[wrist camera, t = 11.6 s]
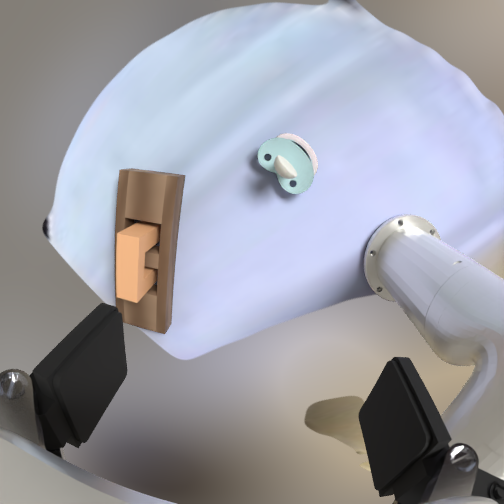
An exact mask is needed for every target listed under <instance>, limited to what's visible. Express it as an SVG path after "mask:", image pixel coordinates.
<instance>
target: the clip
mask: <svg viewBox="0 0 504 504" xmlns="http://www.w3.org/2000/svg"><path fill="white" fill-rule="evenodd" d="M160 234H161V224H158V223H152V222H147V221H139V222H137V223H135V224H134V225H132V226H130V227H128V228H126V229H124V230H122V231H120V232H118V233H117V248H116V292H117V297H118V298H121V299H125V300H128V301H132V302H135V303H138V302H139V301H140V299H141V298H142V297H143V296H144V295H145V294H146V293H147V291H148V290H149V289H150V288H151V287H152V286H153V285H154V283H155V282H156V281H157V272H158V269H155V268H151V267H146V266H145V252H146V251H148V250H149V249H150V248H152V247H153V246H154V245H155V244H157V243H158V242H159V241H160Z"/></svg>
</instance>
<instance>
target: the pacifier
mask: <svg viewBox="0 0 504 504" xmlns="http://www.w3.org/2000/svg"><path fill="white" fill-rule="evenodd" d="M294 142H295V143H297V144H298V145H300V146H301V147H302V148H303V149H304V150H305V151H306V153H307V154H308V156H309V158H308V156H307V155H306V153H305V152H304V151H303V150H302V149H301V148H300V147H299V146H298V145H296V144H295V143H294ZM265 154H270V155H271V160H269V161H266V160H265V159H264V156H265ZM258 160H259V163H260V164H261V165H262V167H264V168H265V169H266V170H268V171H270V172H274V173H276V174H277V177H278V181H279V183H280V185H281V186H282V188H283V189H285V190H286V191H287V192H289V193H292V194H300V193H303V192H305V191H306V190H307V189H308V188H309V187H310V186H311V184H312V182H313V178H314V175H315V173H316V172H317V169H318V161H317V157H316V155H315V153H314V151H313V149H312V148H311V147H310V145H309V144H308V143H307V142H305V141H304V140H303V139H302V138H300V137H298V136H296V135H293V134H288V133H285V134H281V135H279V136H277V137H276V138H272V139H269V140H267V141H266V142H264V143H263V144H262V145H261V147H260V148H259V151H258ZM291 180H295V181H296V186H295V187H291V186H290V184H289V183H290V181H291Z"/></svg>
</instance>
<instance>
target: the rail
mask: <svg viewBox="0 0 504 504" xmlns="http://www.w3.org/2000/svg"><path fill="white" fill-rule="evenodd" d="M184 181H185V175H179V174H172V173H164V172H156V171H148V170H139V169H122V170H120V172H119V182H118V193H117V207H116V225H115V297H116V307H117V308H118V311H119V312H120V313H121V314H122V319H123V322H124V323H128V324H131V325H134V326H137V327H141V328H144V329H148V330H152V331H155V332H159V333H163V334H165V333H166V332H167V330H168V328H169V326H170V325H171V319H172V300H173V285H174V272H175V260H176V249H177V239H178V229H179V220H180V212H181V204H182V196H183V188H184ZM135 219H136V220H141V221H147V222H152V223H158V224H161V234H160V246H156V245H154V246H153V247H152V248H150V249H149V250H148V251H146V252H145V266H146V267H151V268H155V269H158V280H157V285H153V286H152V287H151V288H150V289H149V290H148V291H147V293H146V294H145V295H144V296H143V297H142V298H141V299H140V301H139V302H138V303H135V302H132V301H128V300H125V299H121V298H118V297H117V292H116V248H117V233H118V232H120V231H122V230H124V229H126V228H128V227H130V226H132V225H134V220H135Z"/></svg>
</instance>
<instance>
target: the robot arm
mask: <svg viewBox="0 0 504 504" xmlns="http://www.w3.org/2000/svg"><path fill="white" fill-rule="evenodd" d="M398 221H399V223H398ZM371 251H372V253H370V252H371ZM364 272H365V277H366V279H367V282H368V284H369V285H370V287H371V288H372V290H373V291H374V292H375V293H376V294H377V295H379V296H380V297H381V298H383V299H386V300H388V301H393V302H397V303H398V305H399V306H400V307H401V308H402V310H403V311H404V312H405V314H406V315H407V316H408V318H409V319H410V320H411V322H412V323H413V324H414V326H415V327H416V329H417V330H418V331H419V333H420V334H421V335H422V337H423V338H424V339H425V341H426V342H427V343H428V345H429V346H430V348H431V349H432V350H433V352H434V353H435V354H436V355H437V356H438V357H439V358H440V359H441V360H443V361H445V362H446V363H449V364H452V365H457V366H471V365H475V368H474V370H473V373H472V375H471V376H470V378H469V379H468V381H467V382H466V384H465V385H464V387H463V388H462V390H461V391H460V393H459V394H458V395H457V397H456V398H455V399H454V400H453V402H452V403H451V404H450V405H449V407H448V408H447V409H446V410H445V411H444V413H443V414H442V415H441V416H440V414H439V412H438V410H437V408H436V406H435V404H434V402H433V400H432V398H431V396H430V394H429V392H428V391H427V389H426V387H425V385H424V383H423V381H422V379H421V378H420V376H419V374H418V372H417V370H416V369H415V367H414V365H413V363H412V362H411V360H410V359H409V358H406V357H405V358H404V357H394V358H393V359H392V360H391V361H388V362H387V364H386V366H385V367H384V369H383V371H382V373H381V375H380V377H379V379H378V380H377V382H376V384H375V386H374V388H373V389H372V391H371V393H370V394H369V396H368V398H367V400H366V401H365V403H364V404H363V406H362V408H361V409H360V412H359V421H360V425H361V429H362V433H363V438H364V442H365V446H366V450H367V455H368V459H369V464H370V468H371V473H372V478H373V482H374V486H375V489H376V490H378V491H379V496H380V497H383V496H389V495H393V494H394V495H395V500H394V502H393V503H392V504H504V279H503V278H501V277H499V276H498V275H496V274H495V273H493V272H492V271H490V270H489V269H487V268H485V267H484V266H482V265H481V264H479V263H478V262H476V261H474V260H473V259H471V258H470V257H468V256H466V255H465V254H463V253H461V252H460V251H458V250H456V249H455V248H453V247H451V246H450V245H448V244H446V243H444V242H443V241H441V239H440V236H439V234H438V232H437V230H436V228H435V227H434V226H433V225H432V224H431V223H430V222H429V221H427V220H426V219H424V218H422V217H420V216H416V215H412V214H404V215H398V216H396V217H393V218H391V219H389V220H388V221H386V222H384V223H383V224H382V225H381V226H380V227H379V228H378V229H377V230H376V231H375V233H374V234H373V235H372V237H371V239H370V241H369V243H368V245H367V248H366V251H365V255H364ZM378 287H379V288H378ZM126 375H127V363H126V354H125V345H124V333H123V319H122V314H121V313H120V312H119V311H118V308H117V307H115V306H111V305H108V304H105V303H101V304H100V305H99V306H97V307H96V308H95V309H94V310H93V311H92V312H91V313H90V314H89V315H88V316H87V317H86V318H85V319H84V320H83V321H82V322H80V323H79V324H78V325H77V326H76V327H75V328H74V329H73V330H72V331H71V332H70V333H69V334H68V335H67V336H66V337H65V338H64V339H63V340H62V341H61V342H60V343H59V344H58V345H57V346H56V347H55V348H54V349H53V350H52V351H51V352H50V353H49V354H48V355H47V356H46V357H45V358H44V359H43V360H42V361H41V362H40V363H39V364H38V365H37V366H36V368H34V370H33V372H32V374H31V375H30V376H29V375H28V374H27V373H26V372H24V371H22V370H19V369H8V370H5V371H3V372H1V373H0V504H176V503H172V502H169V501H165V500H161V499H158V498H155V497H152V496H148V495H145V494H142V493H139V492H137V491H134V490H131V489H128V488H125V487H123V486H120V485H118V484H115V483H112V482H110V481H108V480H105V479H103V478H101V477H99V476H97V475H94V474H92V473H90V472H87V471H85V470H83V469H81V468H79V467H77V466H75V465H73V464H71V463H69V462H67V461H66V458H65V454H64V450H63V447H64V446H65V444H66V442H67V443H69V444H71V445H73V446H75V447H77V448H79V446H80V444H81V443H82V442H83V443H85V442H87V440H88V439H89V437H90V435H91V434H92V432H93V430H94V428H95V427H96V425H97V423H98V422H99V420H100V418H101V417H102V415H103V413H104V412H105V410H106V408H107V407H108V405H109V404H110V402H111V400H112V399H113V397H114V395H115V394H116V392H117V391H118V389H119V387H120V386H121V384H122V382H123V381H124V379H125V377H126Z"/></svg>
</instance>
